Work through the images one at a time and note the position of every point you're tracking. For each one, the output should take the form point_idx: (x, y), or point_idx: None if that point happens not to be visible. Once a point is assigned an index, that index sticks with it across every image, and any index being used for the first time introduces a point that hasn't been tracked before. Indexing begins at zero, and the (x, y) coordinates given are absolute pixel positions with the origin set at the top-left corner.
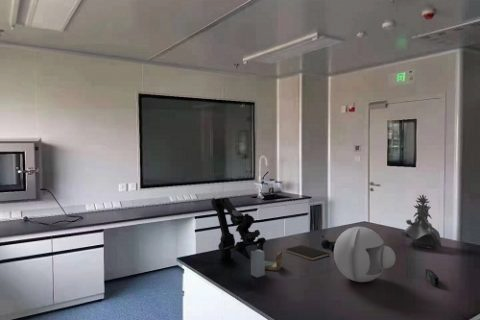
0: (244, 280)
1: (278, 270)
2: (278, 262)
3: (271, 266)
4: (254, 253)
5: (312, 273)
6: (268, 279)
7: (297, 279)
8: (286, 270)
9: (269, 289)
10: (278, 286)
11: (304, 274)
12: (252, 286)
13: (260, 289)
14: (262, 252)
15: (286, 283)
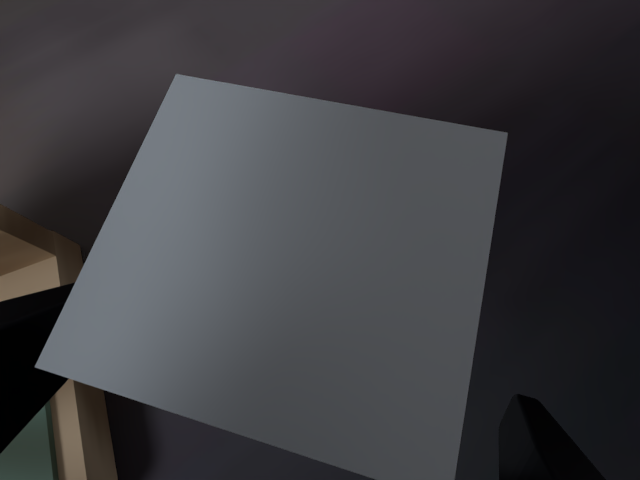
0: (588, 356)
1: (78, 245)
2: (3, 209)
3: None
4: (482, 237)
5: (7, 10)
6: None
7: (194, 15)
8: (32, 193)
9: (537, 38)
10: (427, 28)
11: (58, 36)
12: (625, 176)
13: (606, 84)
14: (248, 98)
15: (326, 23)
